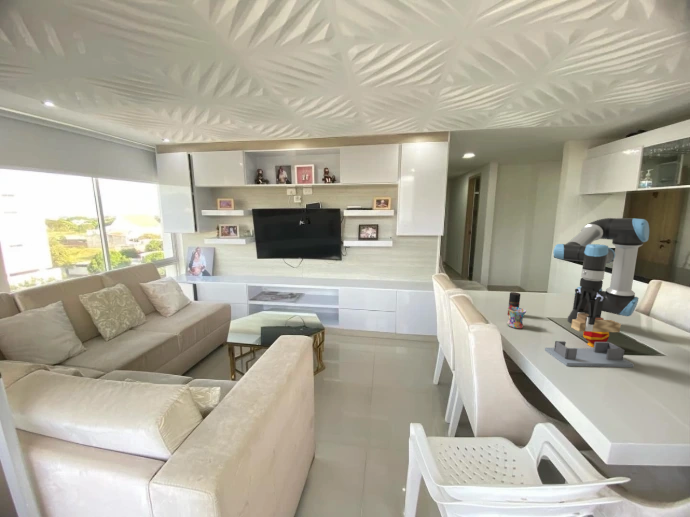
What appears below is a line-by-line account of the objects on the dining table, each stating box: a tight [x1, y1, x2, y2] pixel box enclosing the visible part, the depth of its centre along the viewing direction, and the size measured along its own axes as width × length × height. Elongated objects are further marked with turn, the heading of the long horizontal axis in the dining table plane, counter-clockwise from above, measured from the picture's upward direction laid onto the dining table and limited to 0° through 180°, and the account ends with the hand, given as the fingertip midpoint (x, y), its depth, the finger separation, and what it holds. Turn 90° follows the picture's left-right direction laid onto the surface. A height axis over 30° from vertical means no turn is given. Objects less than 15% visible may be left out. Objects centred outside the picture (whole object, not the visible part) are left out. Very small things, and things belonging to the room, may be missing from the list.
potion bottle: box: [582, 317, 610, 348], centre depth 141 cm, size 10×10×15 cm
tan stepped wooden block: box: [570, 313, 622, 333], centre depth 127 cm, size 18×4×7 cm, turn 89°
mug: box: [506, 307, 527, 329], centre depth 165 cm, size 12×9×11 cm
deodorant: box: [507, 291, 521, 316], centre depth 182 cm, size 6×6×15 cm
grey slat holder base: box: [544, 340, 634, 368], centre depth 129 cm, size 29×14×6 cm, turn 89°
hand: (583, 328), depth 127 cm, fingers closed on tan stepped wooden block, 4 cm apart
